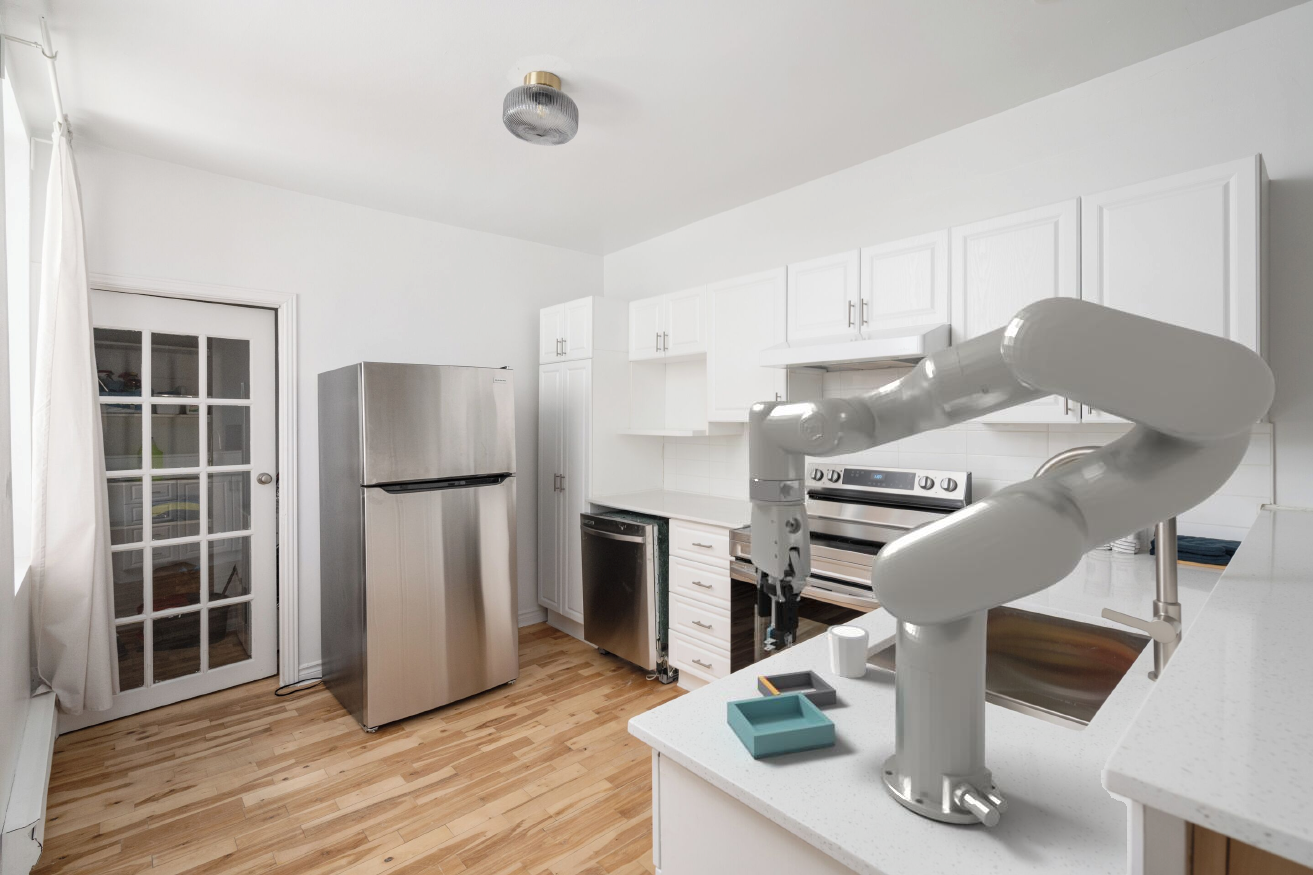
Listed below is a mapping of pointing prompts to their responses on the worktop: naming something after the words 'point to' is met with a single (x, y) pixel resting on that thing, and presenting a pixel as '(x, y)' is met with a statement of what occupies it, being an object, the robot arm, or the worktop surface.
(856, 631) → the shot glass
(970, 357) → the robot arm
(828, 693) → the box
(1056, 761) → the worktop surface
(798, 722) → the tray
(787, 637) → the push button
